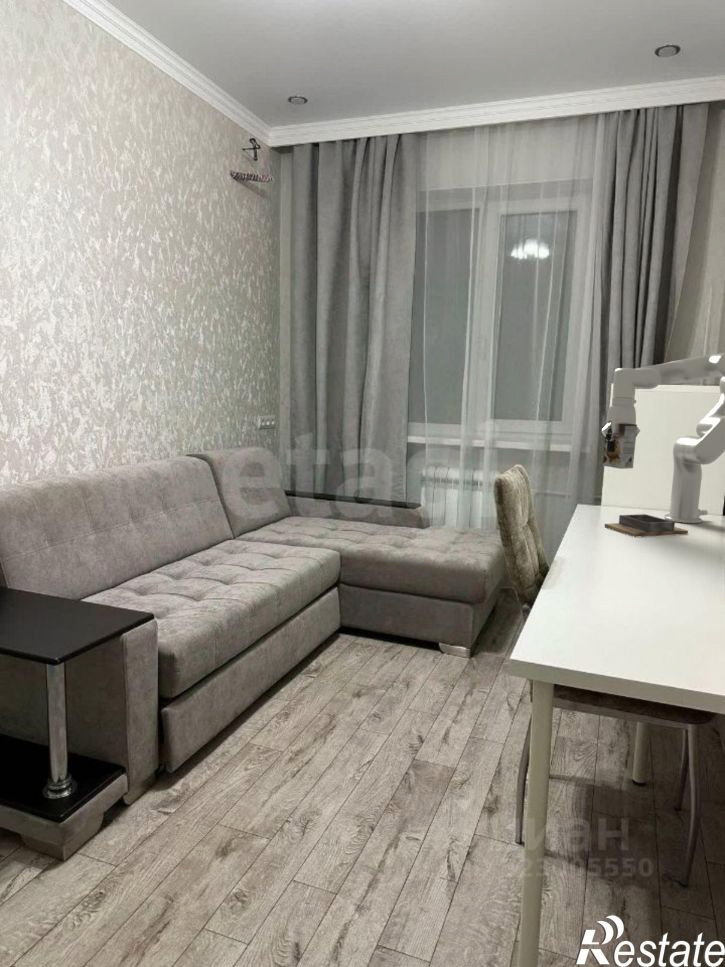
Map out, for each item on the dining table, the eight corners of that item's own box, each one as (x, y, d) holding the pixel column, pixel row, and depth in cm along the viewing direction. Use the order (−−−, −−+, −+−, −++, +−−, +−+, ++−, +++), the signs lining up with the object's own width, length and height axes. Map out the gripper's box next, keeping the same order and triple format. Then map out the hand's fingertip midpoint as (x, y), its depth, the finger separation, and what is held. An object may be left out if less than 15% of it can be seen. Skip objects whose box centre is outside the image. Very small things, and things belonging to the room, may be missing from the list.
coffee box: (601, 465, 242) (605, 422, 240) (615, 465, 245) (618, 422, 243) (620, 469, 234) (624, 423, 232) (634, 468, 237) (637, 423, 234)
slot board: (655, 524, 236) (656, 513, 235) (687, 534, 221) (689, 521, 221) (604, 527, 229) (605, 515, 228) (634, 536, 215) (635, 524, 214)
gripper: (635, 402, 242) (631, 450, 245) (596, 402, 237) (592, 451, 240) (650, 403, 235) (645, 452, 238) (609, 402, 230) (605, 453, 233)
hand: (619, 451), depth 239 cm, fingers closed on coffee box, 6 cm apart
